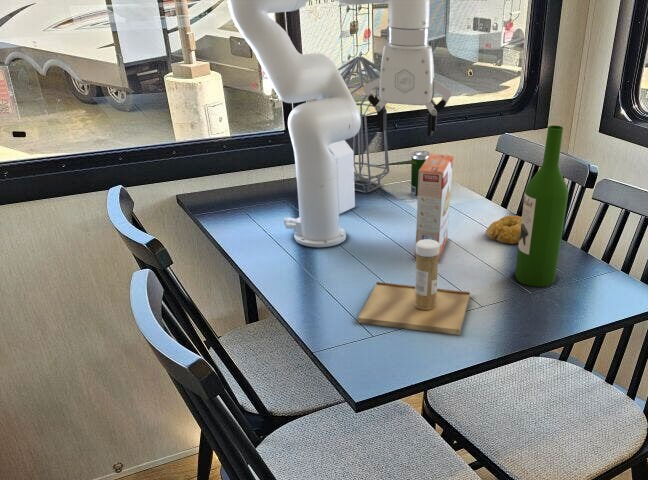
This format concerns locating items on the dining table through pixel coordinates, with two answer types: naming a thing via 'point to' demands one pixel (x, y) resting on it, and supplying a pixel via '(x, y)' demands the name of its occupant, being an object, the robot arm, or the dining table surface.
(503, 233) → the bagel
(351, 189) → the milk carton
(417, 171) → the beer can
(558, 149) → the wine bottle
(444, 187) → the cracker box
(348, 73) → the geometric lantern
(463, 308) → the board
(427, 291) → the sprinkles bottle
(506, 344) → the dining table surface
